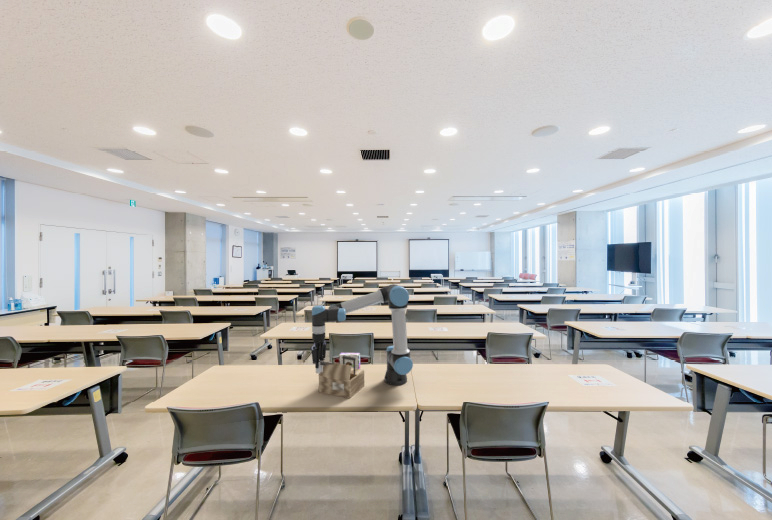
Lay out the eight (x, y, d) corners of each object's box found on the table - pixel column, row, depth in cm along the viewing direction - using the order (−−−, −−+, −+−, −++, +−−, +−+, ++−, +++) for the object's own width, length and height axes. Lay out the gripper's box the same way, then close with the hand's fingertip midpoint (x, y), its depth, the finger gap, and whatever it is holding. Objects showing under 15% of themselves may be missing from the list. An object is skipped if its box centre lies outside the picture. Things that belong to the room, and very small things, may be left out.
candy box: (360, 376, 219) (360, 352, 219) (359, 379, 213) (358, 355, 213) (341, 375, 220) (340, 352, 220) (339, 378, 215) (338, 354, 214)
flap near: (351, 364, 188) (341, 365, 178) (349, 381, 186) (339, 382, 176) (321, 359, 197) (310, 360, 187) (319, 375, 194) (308, 376, 185)
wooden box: (364, 386, 202) (364, 370, 202) (349, 398, 186) (349, 381, 185) (335, 380, 211) (335, 366, 211) (318, 392, 195) (318, 375, 194)
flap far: (363, 370, 202) (363, 353, 201) (356, 376, 193) (356, 358, 193) (335, 366, 211) (334, 349, 210) (327, 371, 202) (326, 354, 202)
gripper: (321, 329, 193) (321, 367, 194) (305, 334, 180) (306, 376, 180) (331, 330, 190) (331, 369, 191) (316, 336, 177) (316, 378, 177)
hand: (319, 372), depth 185 cm, fingers closed on flap near, 2 cm apart
